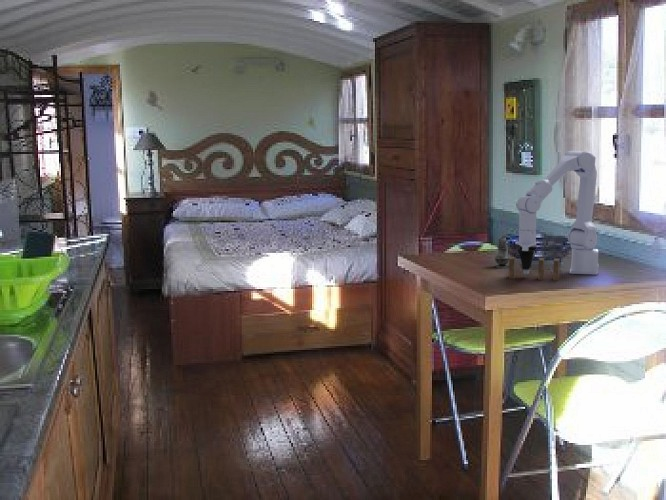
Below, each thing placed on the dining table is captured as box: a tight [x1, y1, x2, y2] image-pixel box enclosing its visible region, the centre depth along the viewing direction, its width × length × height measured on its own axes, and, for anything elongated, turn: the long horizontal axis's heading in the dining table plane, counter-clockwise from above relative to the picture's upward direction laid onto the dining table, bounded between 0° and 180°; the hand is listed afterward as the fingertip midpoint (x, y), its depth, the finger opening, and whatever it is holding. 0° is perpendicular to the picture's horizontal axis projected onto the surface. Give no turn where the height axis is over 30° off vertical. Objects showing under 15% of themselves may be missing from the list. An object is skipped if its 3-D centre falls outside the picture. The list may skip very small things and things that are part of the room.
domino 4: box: [552, 258, 560, 282], centre depth 267 cm, size 2×4×7 cm, turn 161°
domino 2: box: [522, 268, 530, 275], centre depth 270 cm, size 2×4×7 cm, turn 161°
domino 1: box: [508, 256, 516, 280], centre depth 272 cm, size 2×4×7 cm, turn 161°
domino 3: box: [537, 257, 545, 281], centre depth 269 cm, size 2×4×7 cm, turn 161°
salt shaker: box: [494, 235, 511, 269], centre depth 292 cm, size 6×6×12 cm
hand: (526, 268), depth 271 cm, fingers closed on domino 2, 4 cm apart
